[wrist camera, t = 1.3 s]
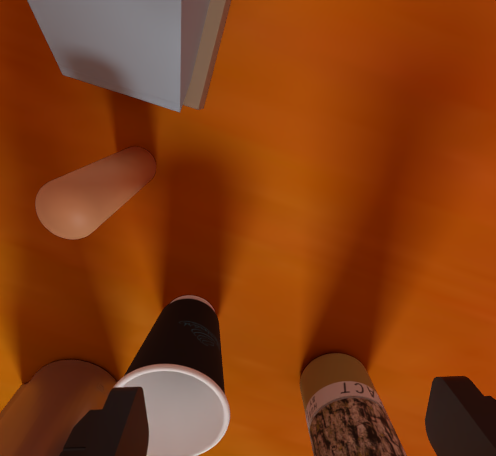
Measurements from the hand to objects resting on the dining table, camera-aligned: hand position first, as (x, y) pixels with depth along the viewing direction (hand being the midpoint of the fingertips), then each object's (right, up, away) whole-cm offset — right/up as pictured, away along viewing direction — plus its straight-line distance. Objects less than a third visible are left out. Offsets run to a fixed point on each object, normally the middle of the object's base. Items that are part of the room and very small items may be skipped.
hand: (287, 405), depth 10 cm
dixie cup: (-6, -3, +23) cm, 24 cm away
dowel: (-10, +10, +18) cm, 23 cm away
